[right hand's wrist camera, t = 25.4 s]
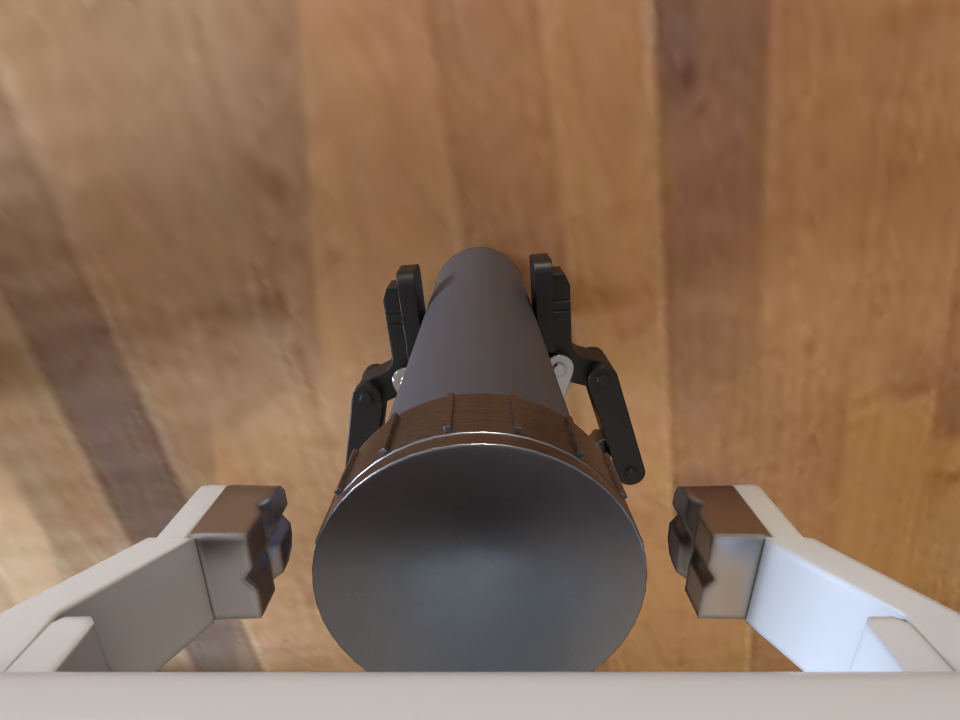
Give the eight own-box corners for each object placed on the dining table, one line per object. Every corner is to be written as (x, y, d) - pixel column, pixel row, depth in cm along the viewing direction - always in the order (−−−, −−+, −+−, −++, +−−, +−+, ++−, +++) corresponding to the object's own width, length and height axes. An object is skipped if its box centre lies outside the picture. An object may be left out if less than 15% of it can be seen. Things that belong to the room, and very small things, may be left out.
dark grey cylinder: (418, 279, 28) (298, 517, 9) (492, 229, 27) (521, 386, 8) (467, 348, 29) (446, 674, 11) (540, 303, 28) (651, 576, 10)
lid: (325, 386, 9) (291, 439, 8) (638, 392, 9) (673, 444, 8) (348, 623, 11) (324, 705, 10) (605, 626, 11) (628, 709, 10)
